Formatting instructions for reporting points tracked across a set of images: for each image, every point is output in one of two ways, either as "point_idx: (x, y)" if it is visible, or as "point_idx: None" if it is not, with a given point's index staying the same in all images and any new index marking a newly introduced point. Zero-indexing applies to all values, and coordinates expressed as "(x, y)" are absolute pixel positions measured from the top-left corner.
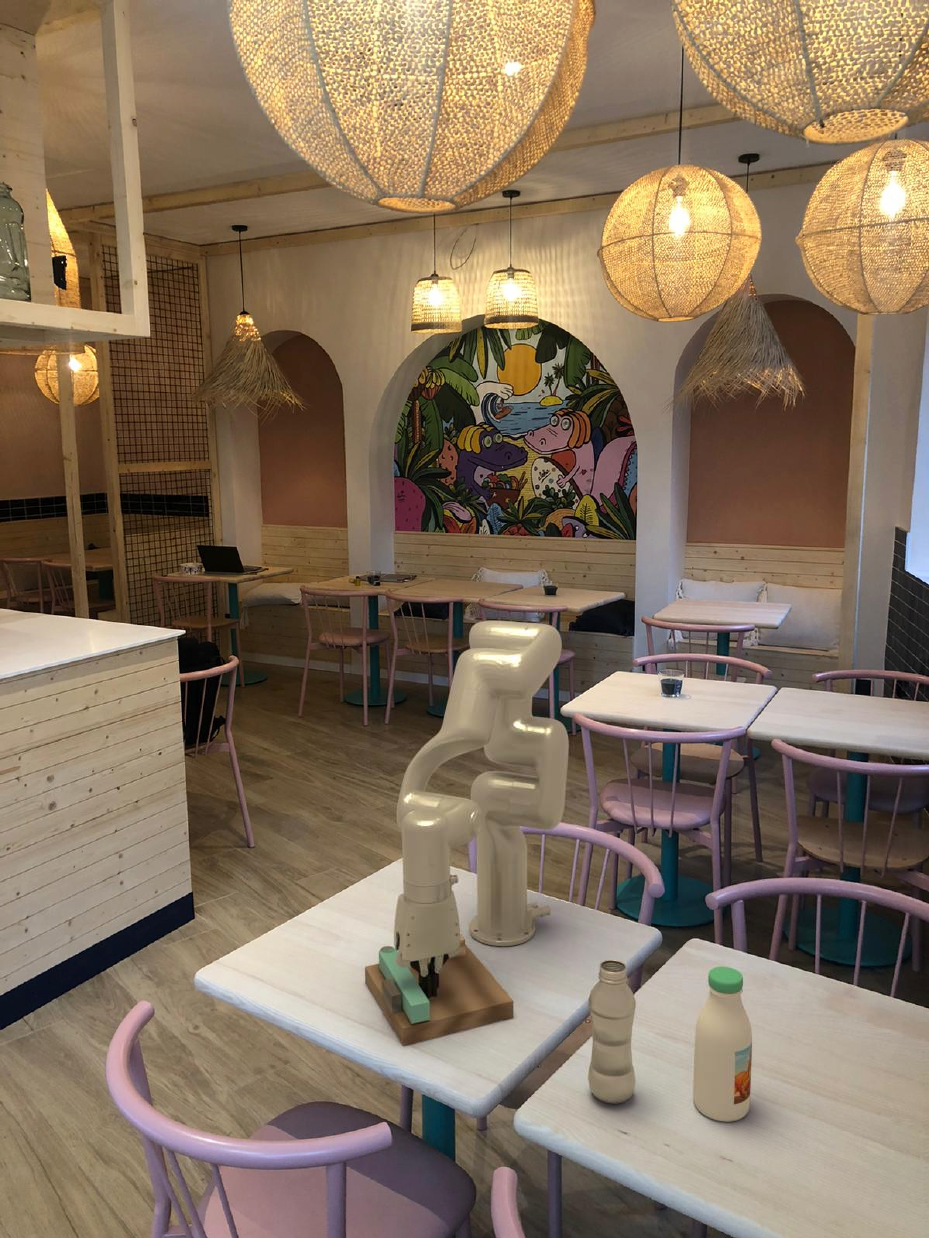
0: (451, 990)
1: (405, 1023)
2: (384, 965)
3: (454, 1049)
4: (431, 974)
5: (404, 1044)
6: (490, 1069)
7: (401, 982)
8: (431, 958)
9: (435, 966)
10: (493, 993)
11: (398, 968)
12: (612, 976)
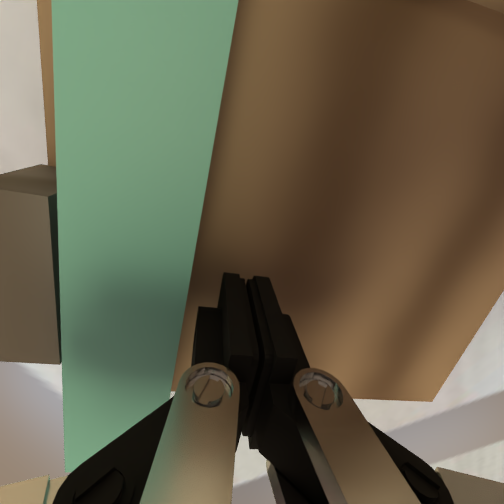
0: (342, 279)
1: None
2: None
3: None
4: (245, 429)
5: None
6: (238, 461)
7: (89, 300)
8: (313, 450)
9: (275, 500)
10: (425, 355)
11: (136, 129)
12: None
